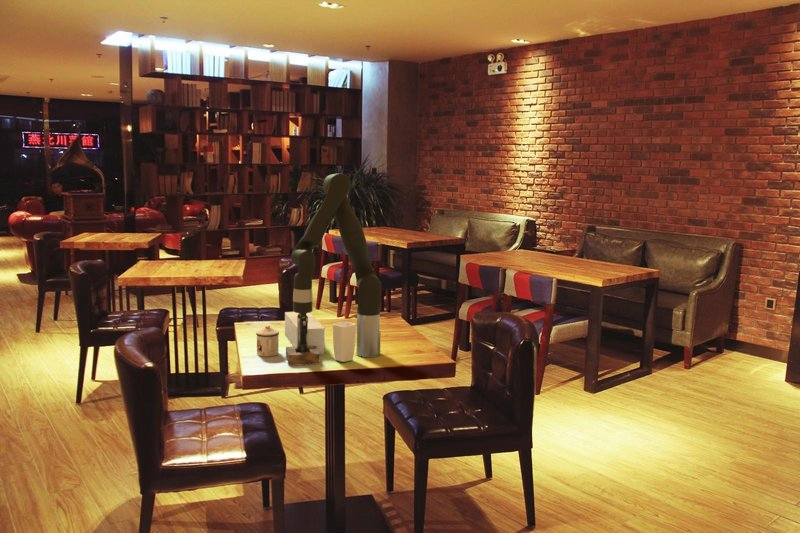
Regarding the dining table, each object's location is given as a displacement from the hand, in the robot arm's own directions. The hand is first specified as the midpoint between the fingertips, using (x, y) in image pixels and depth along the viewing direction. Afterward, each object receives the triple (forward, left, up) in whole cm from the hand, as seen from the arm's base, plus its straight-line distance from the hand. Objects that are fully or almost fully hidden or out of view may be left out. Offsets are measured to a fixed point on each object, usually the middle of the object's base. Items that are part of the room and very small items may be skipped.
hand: (302, 342), depth 275 cm
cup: (-16, +3, -8) cm, 18 cm away
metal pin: (0, 0, -3) cm, 3 cm away
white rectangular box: (-3, -24, -8) cm, 25 cm away
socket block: (0, 0, -7) cm, 7 cm away
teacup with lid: (+13, -10, -8) cm, 18 cm away
